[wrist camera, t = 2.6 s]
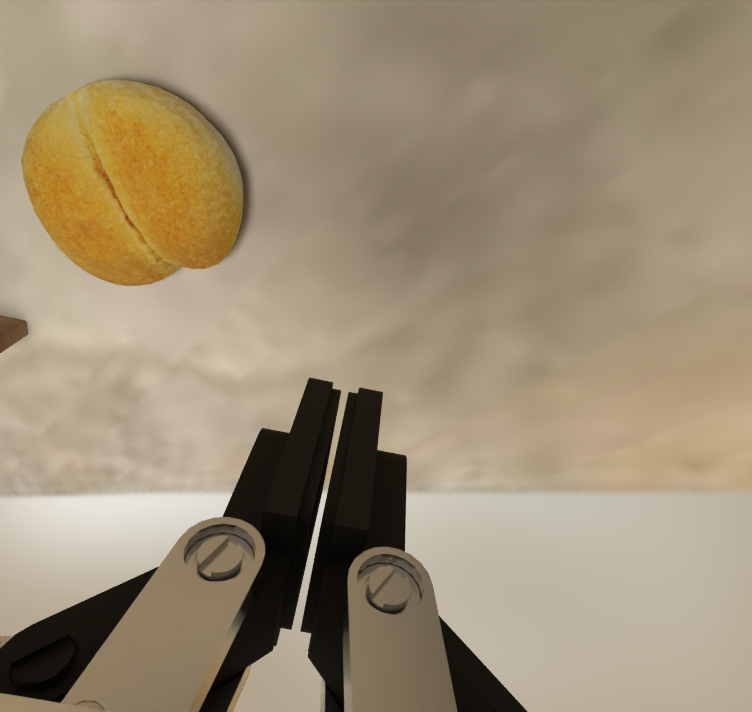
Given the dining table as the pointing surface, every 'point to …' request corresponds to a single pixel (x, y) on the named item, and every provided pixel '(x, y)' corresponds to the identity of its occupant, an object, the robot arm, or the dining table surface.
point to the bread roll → (133, 182)
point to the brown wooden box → (11, 332)
